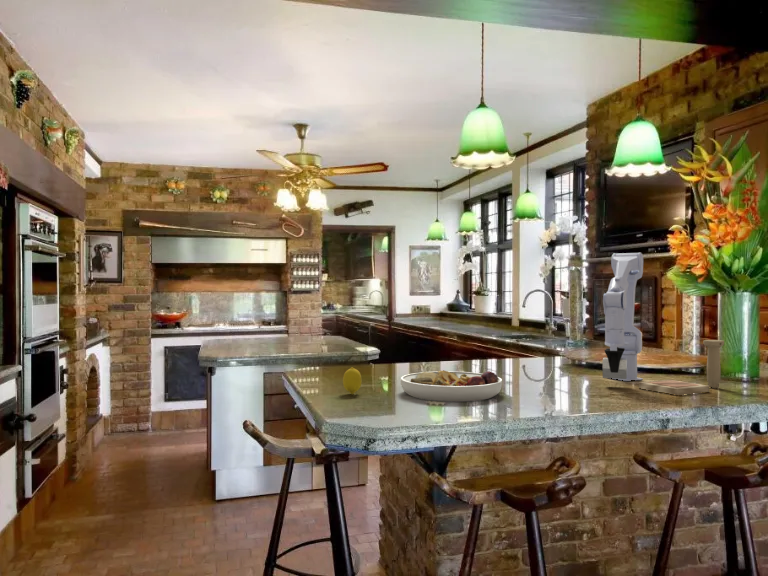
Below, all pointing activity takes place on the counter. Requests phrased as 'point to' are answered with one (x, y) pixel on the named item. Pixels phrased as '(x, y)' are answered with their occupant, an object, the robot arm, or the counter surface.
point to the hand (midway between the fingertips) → (614, 371)
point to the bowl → (452, 386)
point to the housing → (621, 372)
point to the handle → (713, 362)
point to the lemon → (352, 380)
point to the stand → (674, 387)
